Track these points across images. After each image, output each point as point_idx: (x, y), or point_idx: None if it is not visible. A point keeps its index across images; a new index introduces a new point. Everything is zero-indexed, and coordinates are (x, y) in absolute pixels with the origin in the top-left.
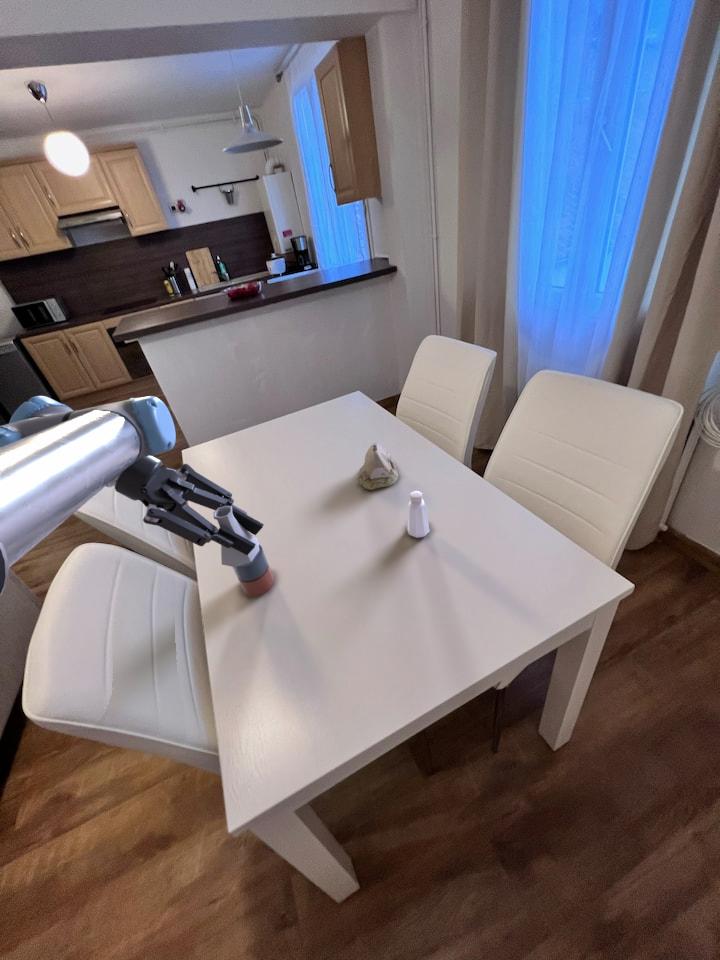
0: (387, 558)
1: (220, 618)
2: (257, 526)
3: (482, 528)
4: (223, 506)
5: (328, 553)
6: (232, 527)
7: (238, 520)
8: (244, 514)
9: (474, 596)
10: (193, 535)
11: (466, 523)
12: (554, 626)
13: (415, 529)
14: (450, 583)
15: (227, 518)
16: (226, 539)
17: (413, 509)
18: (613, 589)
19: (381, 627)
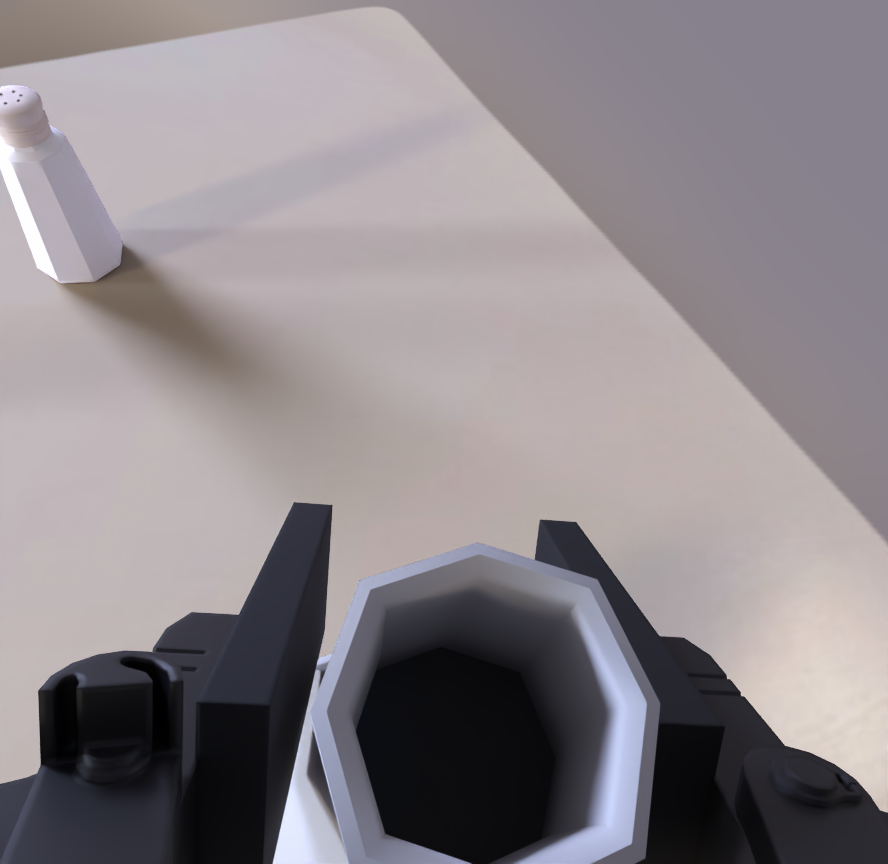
0: (192, 353)
1: None
2: (326, 541)
3: (145, 123)
4: (329, 748)
5: (84, 568)
6: (526, 660)
7: (297, 695)
8: (263, 591)
9: (388, 187)
10: None
11: (106, 147)
12: (476, 99)
13: (103, 237)
14: (338, 220)
15: (569, 627)
16: (712, 685)
17: (58, 160)
18: (396, 14)
19: (476, 386)
